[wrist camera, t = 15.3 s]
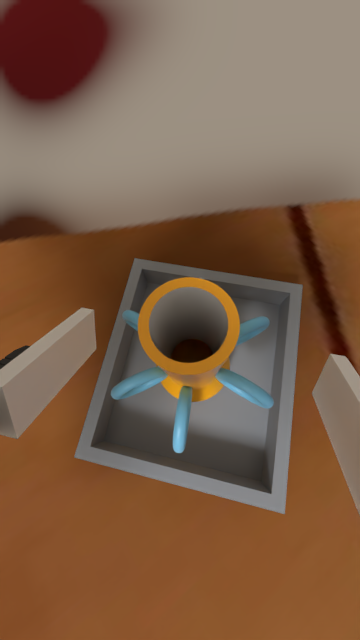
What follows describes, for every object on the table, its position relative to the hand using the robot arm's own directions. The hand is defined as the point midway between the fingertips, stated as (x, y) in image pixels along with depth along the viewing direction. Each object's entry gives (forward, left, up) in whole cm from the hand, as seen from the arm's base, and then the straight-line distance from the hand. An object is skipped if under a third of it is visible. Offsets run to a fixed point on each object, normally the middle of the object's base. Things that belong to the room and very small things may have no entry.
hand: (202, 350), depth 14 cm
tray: (0, 0, -11) cm, 11 cm away
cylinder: (-1, 0, -10) cm, 10 cm away
